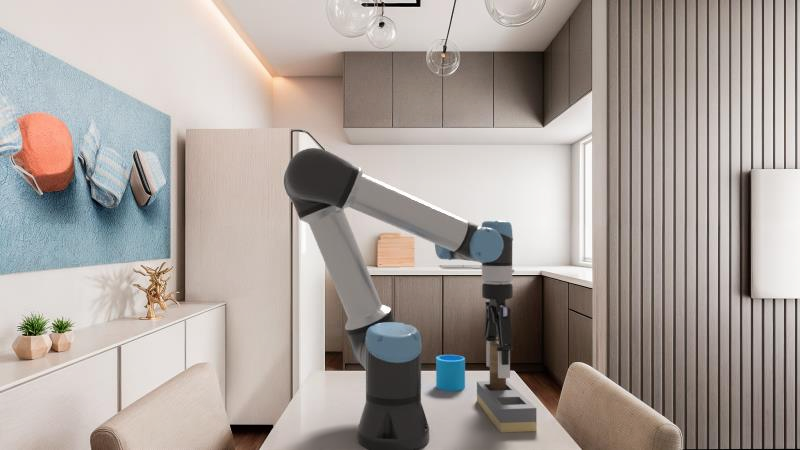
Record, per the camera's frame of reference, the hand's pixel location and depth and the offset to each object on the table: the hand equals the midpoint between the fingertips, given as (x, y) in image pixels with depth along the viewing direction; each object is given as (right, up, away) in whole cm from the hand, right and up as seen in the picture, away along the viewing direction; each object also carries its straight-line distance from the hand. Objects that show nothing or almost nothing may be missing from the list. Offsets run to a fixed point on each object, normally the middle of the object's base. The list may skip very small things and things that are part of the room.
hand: (497, 371), depth 132 cm
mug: (-10, -9, +20) cm, 24 cm away
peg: (0, -7, 0) cm, 7 cm away
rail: (0, -9, -6) cm, 10 cm away
